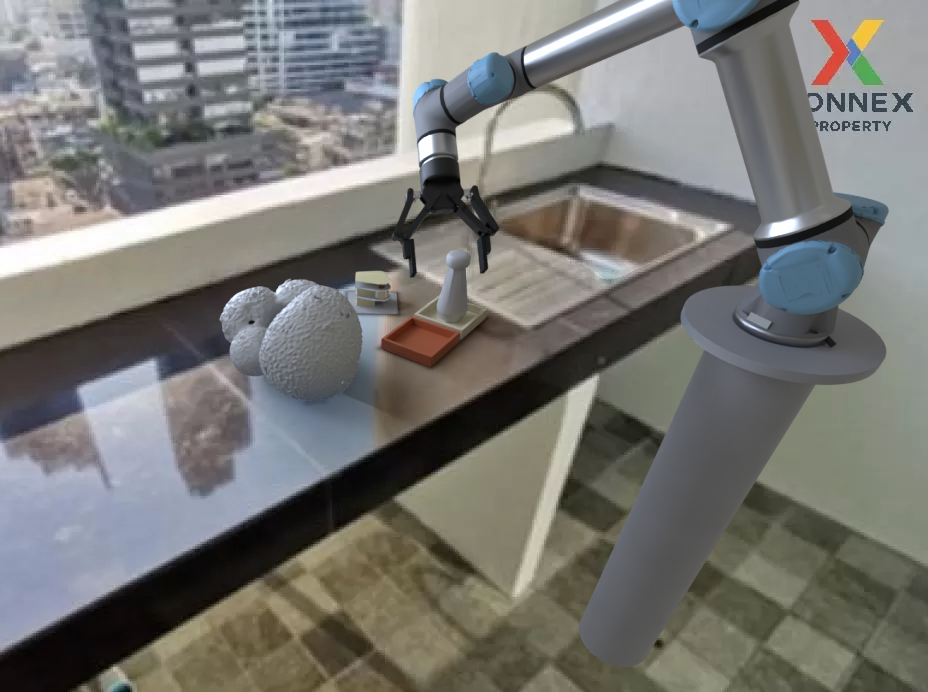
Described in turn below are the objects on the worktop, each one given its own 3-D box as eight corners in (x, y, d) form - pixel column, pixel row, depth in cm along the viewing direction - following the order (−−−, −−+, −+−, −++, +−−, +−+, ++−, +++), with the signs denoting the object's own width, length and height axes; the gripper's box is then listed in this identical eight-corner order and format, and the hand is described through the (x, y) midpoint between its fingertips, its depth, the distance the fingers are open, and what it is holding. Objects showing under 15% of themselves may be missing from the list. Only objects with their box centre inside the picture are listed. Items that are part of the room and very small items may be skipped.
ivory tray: (486, 317, 116) (488, 308, 115) (461, 340, 110) (462, 330, 109) (439, 302, 121) (441, 293, 120) (413, 323, 115) (413, 313, 114)
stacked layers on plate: (346, 313, 118) (346, 287, 115) (348, 292, 125) (348, 267, 121) (397, 314, 118) (399, 288, 114) (396, 292, 124) (398, 267, 121)
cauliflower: (323, 286, 111) (289, 208, 91) (397, 387, 102) (378, 325, 81) (231, 347, 112) (176, 284, 91) (296, 454, 102) (251, 409, 82)
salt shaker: (472, 317, 115) (482, 252, 107) (453, 328, 112) (463, 262, 104) (447, 307, 118) (455, 243, 110) (429, 317, 115) (436, 252, 107)
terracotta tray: (458, 341, 110) (460, 332, 108) (430, 367, 103) (431, 357, 102) (410, 325, 114) (411, 315, 113) (380, 348, 108) (381, 338, 107)
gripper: (495, 172, 120) (506, 276, 119) (371, 178, 119) (380, 283, 117) (509, 152, 113) (520, 262, 111) (377, 157, 111) (386, 269, 109)
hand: (449, 273), depth 114 cm, fingers open, 13 cm apart
